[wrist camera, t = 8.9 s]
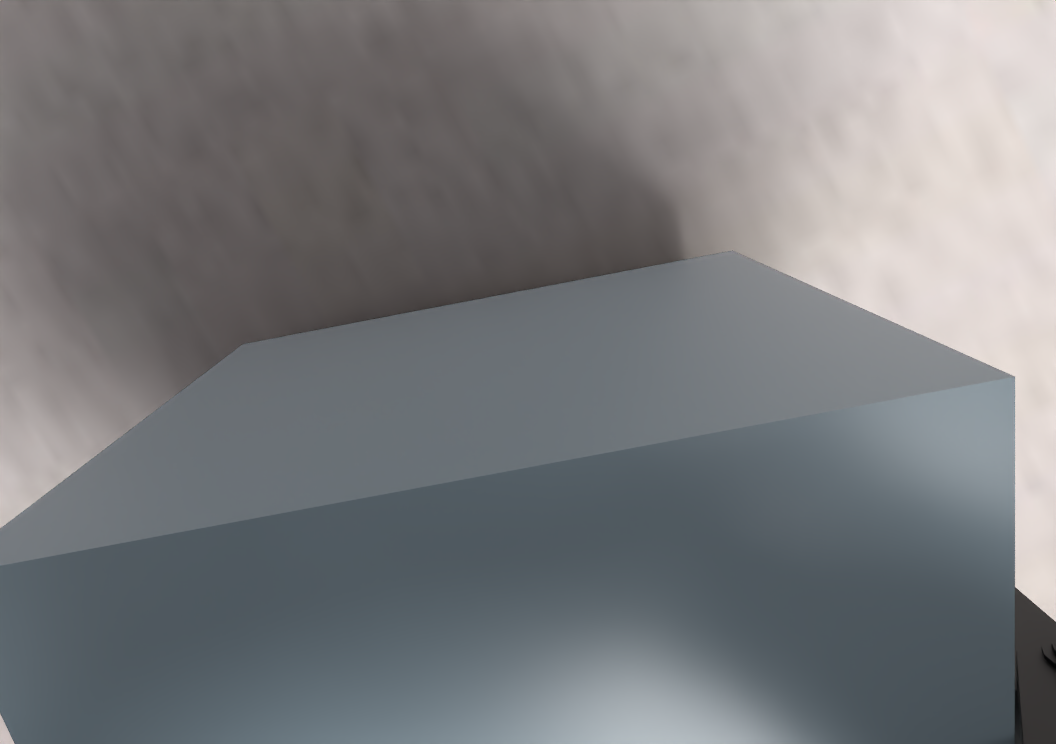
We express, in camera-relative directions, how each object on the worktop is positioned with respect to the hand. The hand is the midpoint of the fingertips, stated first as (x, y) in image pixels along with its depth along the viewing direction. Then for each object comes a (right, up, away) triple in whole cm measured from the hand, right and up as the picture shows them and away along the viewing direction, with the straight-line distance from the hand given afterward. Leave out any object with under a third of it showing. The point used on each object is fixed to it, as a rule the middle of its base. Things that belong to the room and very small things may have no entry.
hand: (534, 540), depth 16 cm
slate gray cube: (0, 0, +1) cm, 1 cm away
